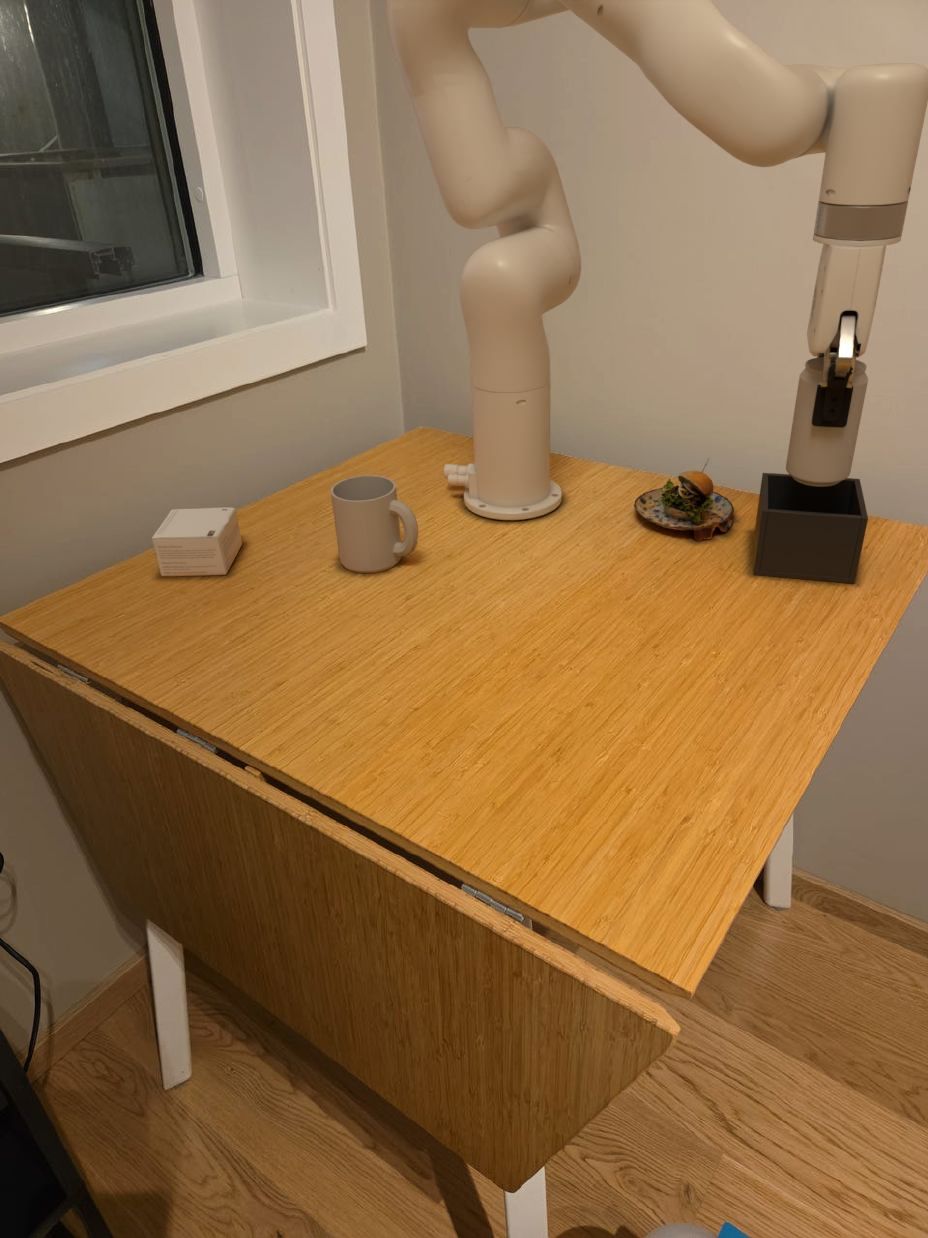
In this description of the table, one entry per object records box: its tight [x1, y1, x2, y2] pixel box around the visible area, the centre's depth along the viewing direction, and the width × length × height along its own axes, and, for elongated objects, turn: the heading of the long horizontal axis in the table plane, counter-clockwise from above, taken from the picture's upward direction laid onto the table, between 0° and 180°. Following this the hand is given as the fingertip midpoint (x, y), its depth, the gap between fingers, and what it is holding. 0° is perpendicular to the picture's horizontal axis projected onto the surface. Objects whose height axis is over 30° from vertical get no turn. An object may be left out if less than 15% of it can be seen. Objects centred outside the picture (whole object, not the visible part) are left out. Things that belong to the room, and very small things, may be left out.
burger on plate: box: [633, 458, 735, 542], centre depth 108 cm, size 12×12×8 cm
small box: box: [151, 506, 243, 578], centre depth 105 cm, size 8×8×5 cm
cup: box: [330, 474, 419, 574], centre depth 101 cm, size 7×10×9 cm
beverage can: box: [785, 357, 869, 487], centre depth 92 cm, size 6×6×12 cm
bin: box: [752, 472, 869, 585], centre depth 98 cm, size 10×10×8 cm
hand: (826, 412), depth 91 cm, fingers closed on beverage can, 6 cm apart
